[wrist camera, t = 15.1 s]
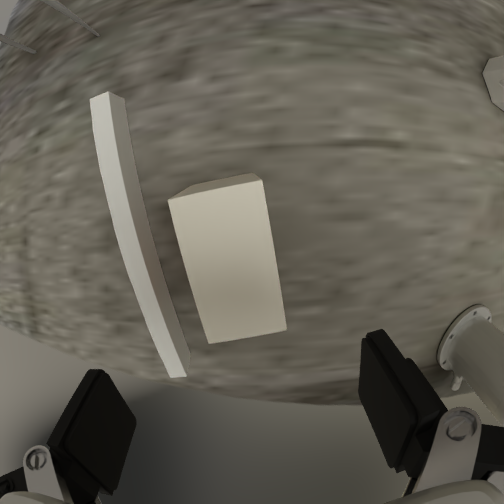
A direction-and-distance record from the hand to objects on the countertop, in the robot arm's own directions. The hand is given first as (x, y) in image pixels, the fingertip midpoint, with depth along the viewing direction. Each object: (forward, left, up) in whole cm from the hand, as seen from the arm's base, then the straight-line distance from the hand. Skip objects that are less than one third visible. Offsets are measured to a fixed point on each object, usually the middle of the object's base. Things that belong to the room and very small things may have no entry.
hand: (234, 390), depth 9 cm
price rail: (+1, +9, -20) cm, 22 cm away
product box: (0, 0, -21) cm, 21 cm away
